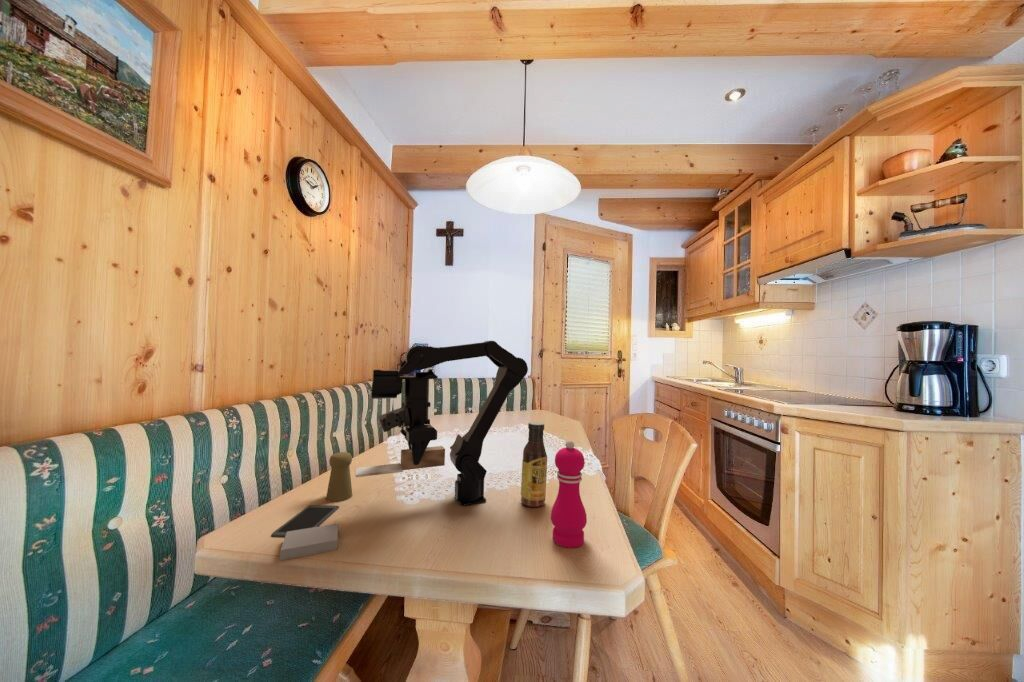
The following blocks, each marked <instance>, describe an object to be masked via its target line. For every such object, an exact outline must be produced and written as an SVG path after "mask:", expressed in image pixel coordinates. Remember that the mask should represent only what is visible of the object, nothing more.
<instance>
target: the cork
mask: <svg viewBox="0 0 1024 682" xmlns="http://www.w3.org/2000/svg"><path fill="white" fill-rule="evenodd" d="M352 461H353V457H352V454H351V453H350V452H347V451H340V452H336V453H332V455H330V457H329V461H328V463H329V467H330V475H329V480H328V486H327V490H326V491H327V492H326V498H325V500H326V501H327V502H330V503H337V502H344V501H347V500H349V499H351V498H352V497H353V487H352V478H351V468H350V467H351V464H352Z"/></svg>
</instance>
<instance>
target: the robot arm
mask: <svg viewBox="0 0 1024 682" xmlns="http://www.w3.org/2000/svg"><path fill="white" fill-rule="evenodd" d="M480 357H481V358H482V357H487V358H488V359H489V360H490V362H492V364H494V365H495V366H496V367H497V372H496V375H495V380H494V381H495V382H494V385H493V387H492V388H491V390H490V392H489V393H488V396H487V397H486V399H485V401H484V403H483V405H482V406H481V408H480V410H479V411H478V414H476V416H475V419H474V421H473V423H472V424H471V426H470V428H469V430H468V431H467V432H466V433H464V435H463V436H461V435H460V434H459V433H458V434H457V435H456V437H455V439H454V440H455V441H454V442H453V444H451V446H450V447H449V449H450V452H449V459H450V461H451V463H452V464H453V466H454V467H455V469H456V470H457V471H458V472H459V473H457V475H456V476H457V477H456V480H455V481H454V498H455V500H456V501H458V503H459V505H461V506H468V505H474V504H475V505H476V504H480V503H486V502H487V499H486V497H485V496H484V495H485V494H484V493H485V478H486V475H487V472H488V471H487V470H486V468H485V467H484V466H483V465H482V464H481V463H480V462H479V461H480V458H481V455H482V451H483V443H484V441H485V439H486V437H487V435H488V433H489V431H490V429H491V427H492V425H493V424H494V422H495V420H496V418H497V416H498V414H499V413H500V411H501V409H502V407H503V405H504V403H505V402H506V400H507V398H508V396H509V394H510V393H511V392H512V391H513V390H514V389H515V388H516V387H517V386H518V385H520V384H521V382H522V380H524V378H525V377H526V375H528V371H529V367H528V363H527V362H526V360H525V359H523V358H522V357H518V356H515V355H514V354H513V353H512V352H511V351H508V350H506V348H503V347H502V346H501V345H500V344H498V342H497V341H495V340H485V341H483V342H475V343H474V342H473V343H467V344H466V343H465V344H459V345H458V344H457V345H451V346H450V345H449V346H430V345H429V346H428V345H427V346H426V345H417V346H416V345H415V346H414V345H413V346H411V347H408V348H407V350H406V352H405V354H404V360H403V361H402V363H401V364H400V365H398V368H397V369H388V370H385V369H379V368H378V369H376V368H375V369H373V373H372V382H371V400H375V399H376V400H378V399H379V400H381V399H384V400H385V399H397V397H398V396H400V395H402V393H403V380H404V394H403V397H404V398H403V400H402V402H401V407H399V408H396V409H393V410H391V411H388V412H385V413H383V414H381V415H379V416H378V417H377V418H378V421H379V424H380V427H381V429H382V432H383V433H386V432H389V431H391V430H393V429H395V428H399V429H400V428H402V426H403V429H400V430H399V432H400V433H401V434H402V435H403V436H404V439H405V440H406V442H407V446H408V449H411V450H412V457H413V463H414V465H418V464H419V463H420V460H421V458H422V456H423V454H424V452H425V450H426V448H427V447H429V444H430V442H432V441H437V440H438V430H437V429H436V428H435V427H434V426H433V425H431V419H430V418H429V408H431V401H430V398H429V397H430V396H429V395H430V380H437V379H438V378H439V377H438V375H437V374H435V372H434V371H433V369H431V367H435V366H437V365H440V364H443V363H446V362H453V361H459V360H467V359H473V358H474V359H475V358H480ZM426 369H428V370H426ZM421 370H426V371H421ZM413 372H414V373H413ZM412 373H413V375H409V374H412ZM403 375H404V376H403Z"/></svg>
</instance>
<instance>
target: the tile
mask: <svg viewBox="0 0 1024 682" xmlns="http://www.w3.org/2000/svg"><path fill="white" fill-rule="evenodd" d="M338 534H339V523H331V524H327V525H320V526H319V527H313V528H306V529H300V530H294V531H288V532H287V533H286V536H285V537H284V540H283V542H282V545H281V548H280V553H279V554H280V555H279V561H283V560H290V559H295V558H299V557H305V556H310V555H315V554H321V553H326V552H331V551H335V550H338V536H339V535H338ZM294 557H295V558H294Z"/></svg>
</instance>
